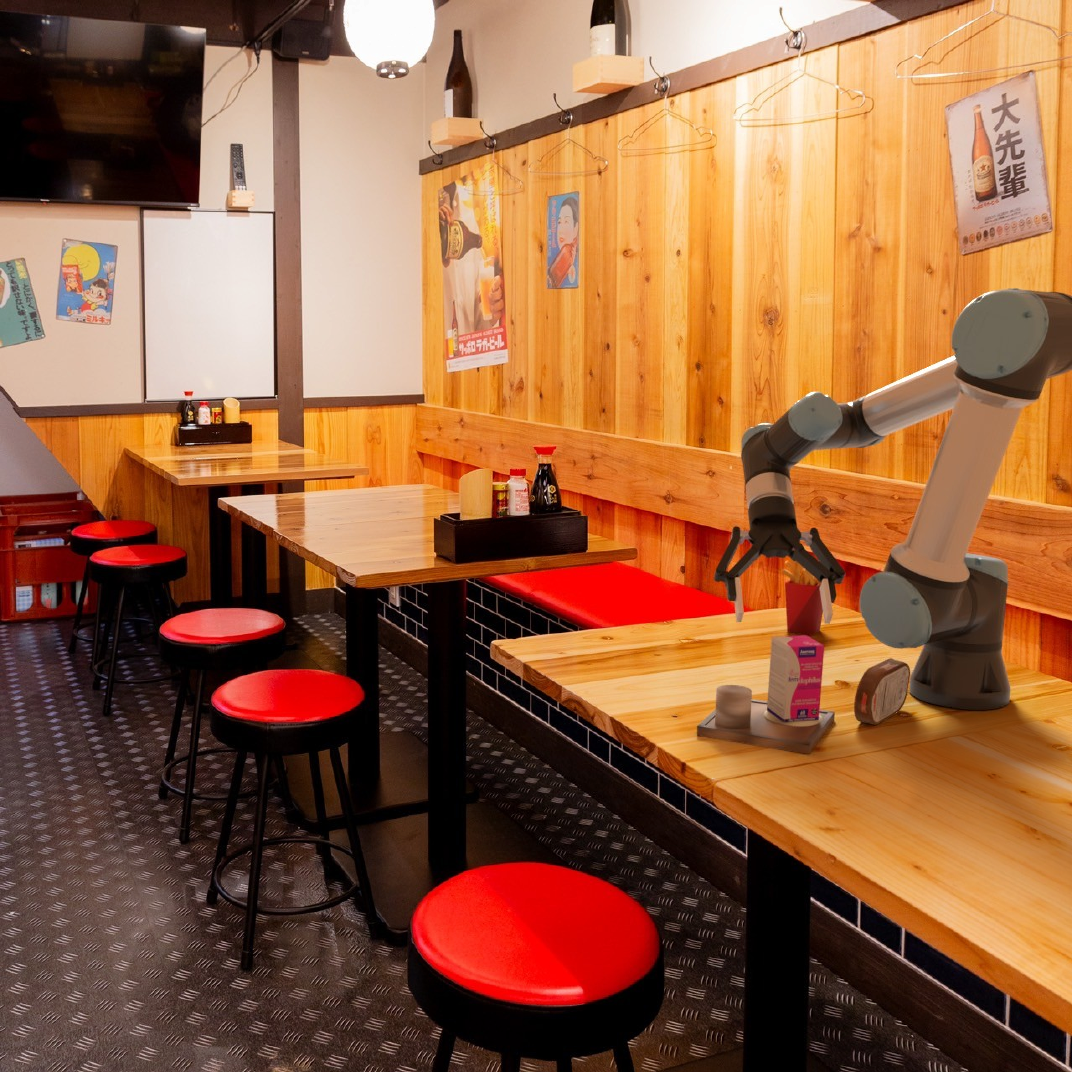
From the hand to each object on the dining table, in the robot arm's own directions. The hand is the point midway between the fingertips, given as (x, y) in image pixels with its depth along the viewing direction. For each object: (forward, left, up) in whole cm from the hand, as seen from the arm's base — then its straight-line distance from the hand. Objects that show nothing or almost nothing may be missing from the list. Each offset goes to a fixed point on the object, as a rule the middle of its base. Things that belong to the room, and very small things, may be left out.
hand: (784, 618), depth 178 cm
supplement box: (-4, +9, -12) cm, 16 cm away
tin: (-15, -1, -14) cm, 21 cm away
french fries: (+9, -47, -14) cm, 49 cm away
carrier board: (-1, +12, -14) cm, 18 cm away
